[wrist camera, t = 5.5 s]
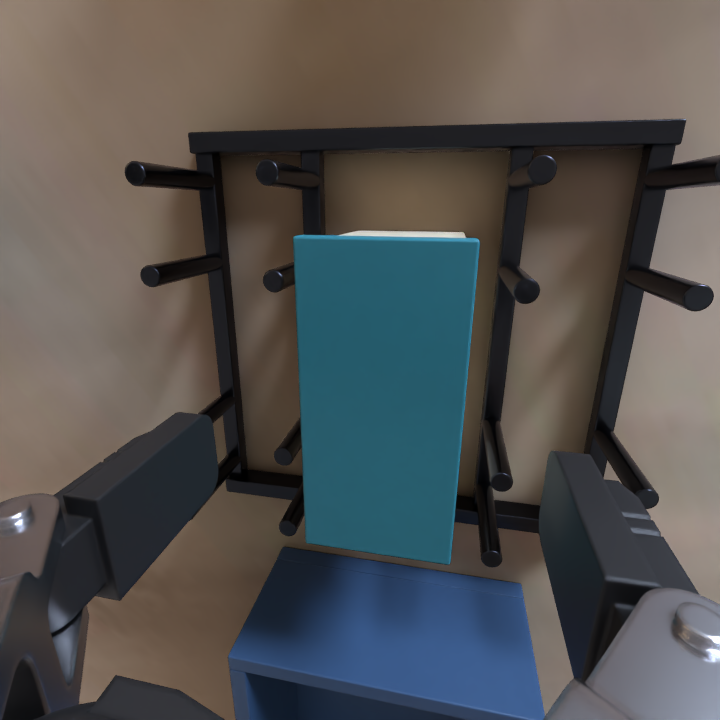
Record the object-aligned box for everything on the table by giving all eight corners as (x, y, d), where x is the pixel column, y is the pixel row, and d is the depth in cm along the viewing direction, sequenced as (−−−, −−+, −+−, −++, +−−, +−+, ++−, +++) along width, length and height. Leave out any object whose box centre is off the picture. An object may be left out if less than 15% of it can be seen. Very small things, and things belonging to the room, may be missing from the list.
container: (353, 434, 23) (304, 543, 15) (353, 225, 20) (291, 235, 12) (451, 444, 22) (450, 566, 14) (469, 227, 19) (480, 239, 11)
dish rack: (236, 479, 25) (181, 547, 20) (202, 136, 20) (114, 111, 14) (586, 524, 22) (627, 620, 17) (671, 124, 16) (772, 85, 11)
